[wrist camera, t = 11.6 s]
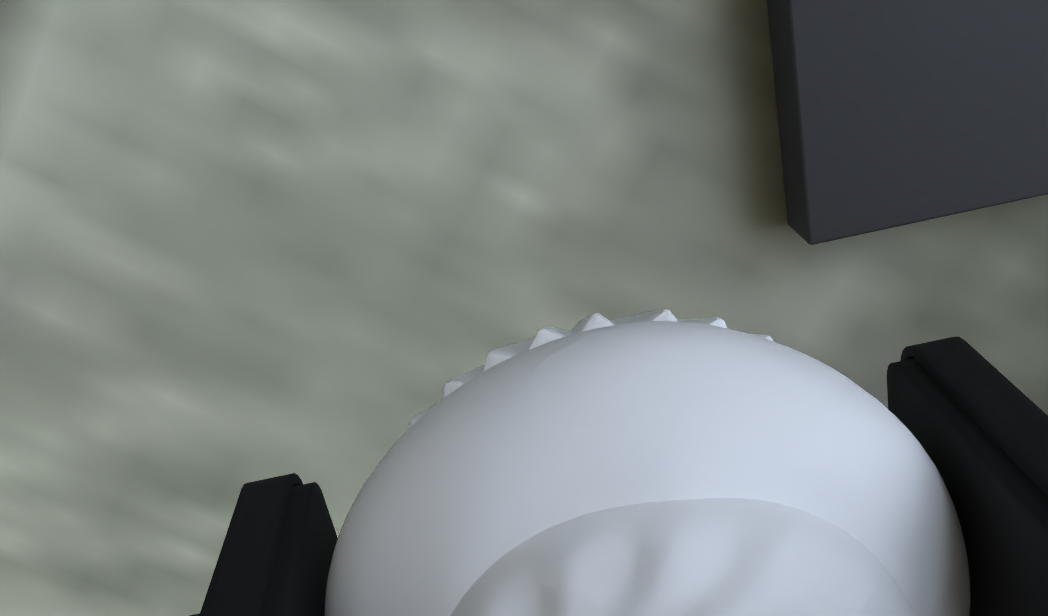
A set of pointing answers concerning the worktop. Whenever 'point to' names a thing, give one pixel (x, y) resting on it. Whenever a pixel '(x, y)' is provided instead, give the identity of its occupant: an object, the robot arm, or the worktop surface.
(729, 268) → the worktop surface
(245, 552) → the robot arm
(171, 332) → the worktop surface
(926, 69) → the scale
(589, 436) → the muffin
